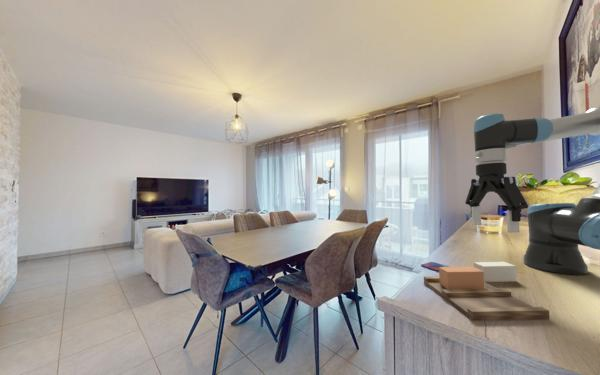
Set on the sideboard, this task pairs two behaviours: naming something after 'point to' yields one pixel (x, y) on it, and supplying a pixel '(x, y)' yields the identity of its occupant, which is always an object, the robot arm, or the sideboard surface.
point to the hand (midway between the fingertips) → (493, 228)
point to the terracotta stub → (461, 278)
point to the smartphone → (433, 266)
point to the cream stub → (497, 271)
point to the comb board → (487, 303)
